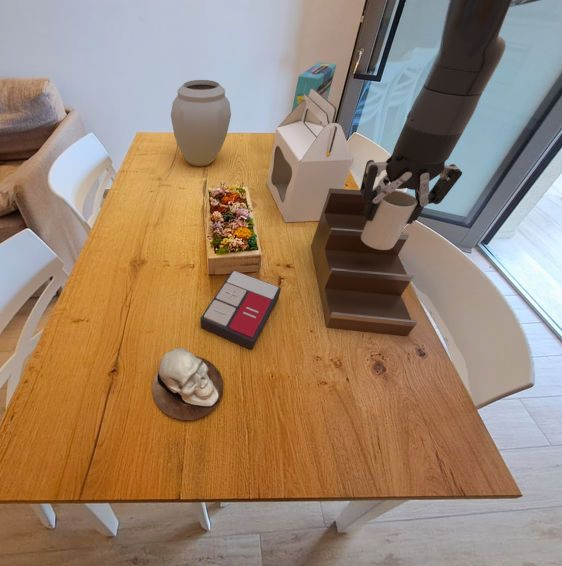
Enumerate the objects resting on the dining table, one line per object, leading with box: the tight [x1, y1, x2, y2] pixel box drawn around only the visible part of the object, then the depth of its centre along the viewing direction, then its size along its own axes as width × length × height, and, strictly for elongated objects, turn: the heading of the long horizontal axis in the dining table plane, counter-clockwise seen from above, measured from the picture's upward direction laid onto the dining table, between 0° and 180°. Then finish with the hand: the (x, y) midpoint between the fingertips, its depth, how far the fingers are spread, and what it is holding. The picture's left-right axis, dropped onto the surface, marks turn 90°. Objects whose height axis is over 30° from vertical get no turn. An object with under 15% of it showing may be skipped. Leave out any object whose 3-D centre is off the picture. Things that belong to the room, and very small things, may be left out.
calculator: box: [200, 270, 282, 351], centre depth 67 cm, size 11×4×15 cm
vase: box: [170, 79, 232, 167], centre depth 110 cm, size 20×20×24 cm
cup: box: [361, 189, 417, 250], centre depth 60 cm, size 6×6×9 cm
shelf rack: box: [310, 188, 418, 337], centre depth 68 cm, size 26×15×16 cm, turn 171°
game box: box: [291, 61, 337, 125], centre depth 111 cm, size 20×6×27 cm, turn 148°
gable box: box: [266, 89, 355, 223], centre depth 89 cm, size 22×13×28 cm, turn 4°
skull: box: [151, 347, 224, 421], centre depth 55 cm, size 12×10×10 cm
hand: (387, 219), depth 60 cm, fingers closed on cup, 6 cm apart
